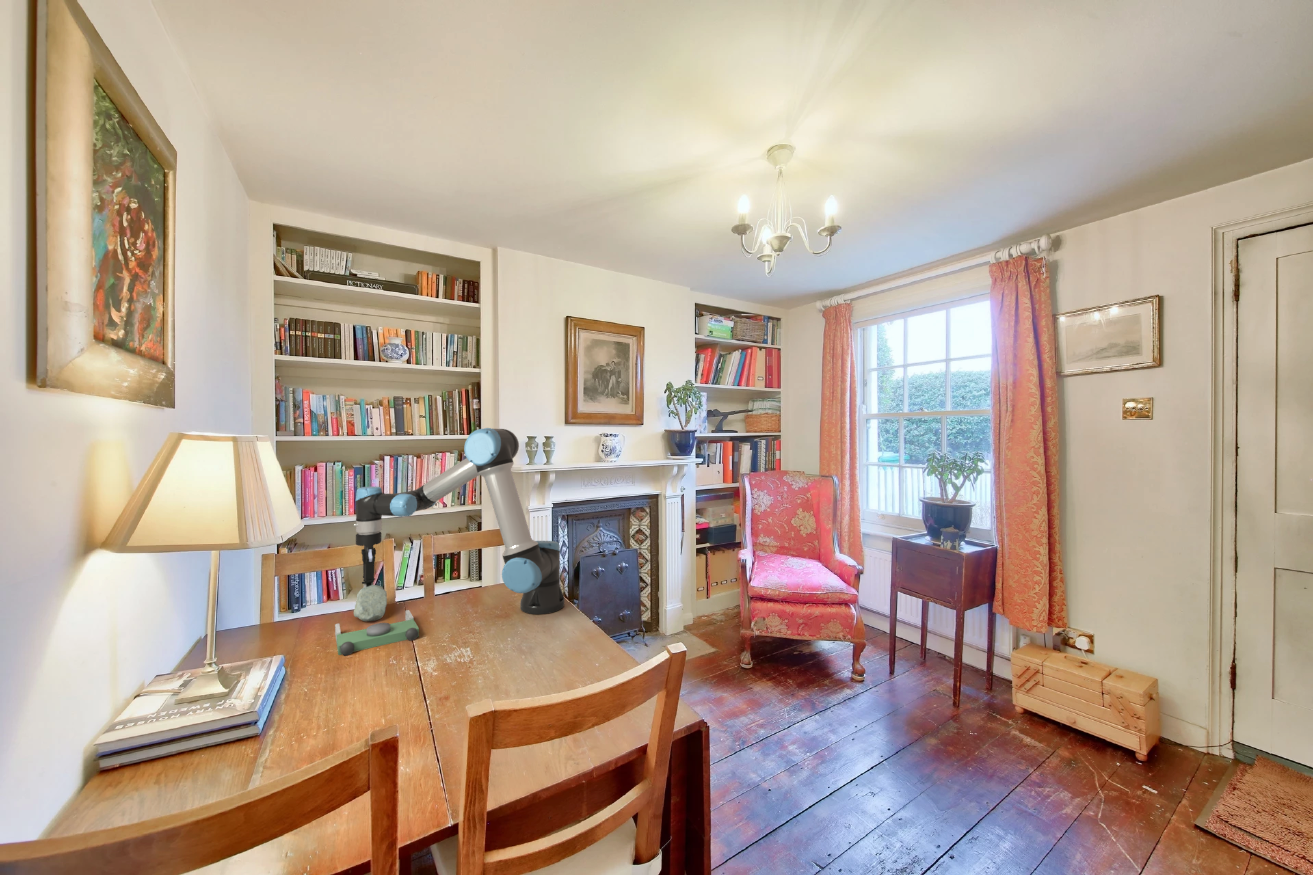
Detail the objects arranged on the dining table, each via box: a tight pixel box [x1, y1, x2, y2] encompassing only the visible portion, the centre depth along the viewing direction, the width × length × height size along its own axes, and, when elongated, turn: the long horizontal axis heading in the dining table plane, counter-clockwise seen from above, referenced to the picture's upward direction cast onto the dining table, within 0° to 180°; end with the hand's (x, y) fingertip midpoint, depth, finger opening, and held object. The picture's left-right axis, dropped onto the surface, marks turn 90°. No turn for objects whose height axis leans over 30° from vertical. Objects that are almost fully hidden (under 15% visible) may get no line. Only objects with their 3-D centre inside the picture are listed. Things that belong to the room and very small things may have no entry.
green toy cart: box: [334, 609, 420, 656], centre depth 141 cm, size 20×19×4 cm
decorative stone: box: [353, 584, 388, 622], centre depth 156 cm, size 13×11×10 cm
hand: (368, 601), depth 161 cm, fingers closed
